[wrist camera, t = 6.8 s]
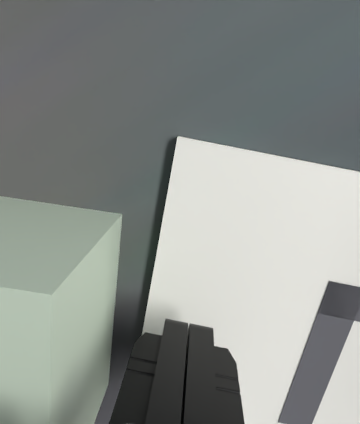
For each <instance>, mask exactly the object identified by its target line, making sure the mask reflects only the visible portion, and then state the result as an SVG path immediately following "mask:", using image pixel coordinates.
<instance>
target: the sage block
mask: <svg viewBox="0 0 360 424" xmlns="http://www.w3.org/2000/svg"><path fill="white" fill-rule="evenodd" d="M121 224H122V214H118V213H111V212H104V211H97V210H91V209H84V208H77V207H70V206H63V205H56V204H50V203H43V202H36V201H29V200H22V199H16V198H9V197H2V196H0V424H94V423H95V420H96V417H97V414H98V412H99V409H100V406H101V403H102V400H103V398H104V395H105V392H106V389H107V387H108V384H109V372H110V359H111V347H112V335H113V322H114V310H115V298H116V286H117V273H118V261H119V249H120V236H121Z"/></svg>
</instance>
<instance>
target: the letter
mask: <svg viewBox="0 0 360 424" xmlns="http://www.w3.org/2000/svg"><path fill="white" fill-rule="evenodd" d="M165 318H166V319H171V320H176V321H181V322H186V323H188V327H189V324H190V323H191V324H196V325H201V326H206V327H211V328H213V333H214V346H217V347H222V348H227V349H228V350H229V352H230V353H231V355H232V356H233V358H234V360H235V361H236V364H237V371H238V381H239V386H240V395H241V401H242V408H243V416H244V423H245V424H360V172H358V171H353V170H348V169H343V168H338V167H333V166H328V165H322V164H317V163H312V162H307V161H302V160H297V159H292V158H287V157H282V156H277V155H272V154H266V153H261V152H256V151H251V150H246V149H241V148H236V147H231V146H226V145H221V144H216V143H210V142H205V141H200V140H195V139H190V138H185V137H180V136H178V137H177V142H176V148H175V153H174V159H173V164H172V170H171V176H170V181H169V187H168V192H167V198H166V203H165V209H164V215H163V220H162V226H161V231H160V237H159V242H158V248H157V253H156V259H155V265H154V270H153V276H152V281H151V287H150V292H149V298H148V303H147V309H146V315H145V320H144V326H143V331H142V335H143V334H144V333H145V332H147V333H152V334H157V335H162V334H163V329H164V324H165Z"/></svg>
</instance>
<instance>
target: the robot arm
mask: <svg viewBox="0 0 360 424" xmlns="http://www.w3.org/2000/svg"><path fill="white" fill-rule="evenodd" d="M109 424H245V423H244V416H243V408H242V401H241V395H240V386H239V381H238V371H237V364H236V361H235V360H234V358H233V356H232V355H231V353H230V352H229V350H228V349H227V348H222V347H217V346H214V333H213V328H211V327H206V326H201V325H196V324H191V323H190V324H189V327H188V323H186V322H181V321H176V320H171V319H166V318H165V324H164V329H163V334H162V335H157V334H152V333H147V332H145V333H144V334H143V335H142V336H141V337H140V338H139V339H138V340H137V341H136V342H135V343H134V346H133V350H132V353H131V356H130V359H129V362H128V365H127V369H126V372H125V375H124V378H123V381H122V385H121V388H120V391H119V394H118V397H117V400H116V404H115V407H114V410H113V413H112V416H111V420H110V422H109Z"/></svg>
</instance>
